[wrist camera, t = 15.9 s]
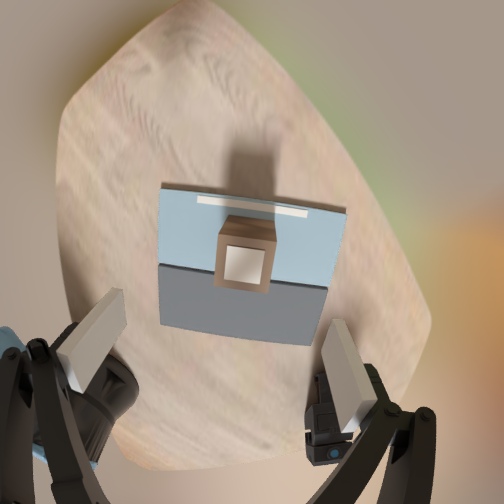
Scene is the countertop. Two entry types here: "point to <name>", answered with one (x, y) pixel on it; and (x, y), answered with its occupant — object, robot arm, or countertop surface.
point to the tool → (324, 428)
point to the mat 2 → (239, 307)
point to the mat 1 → (220, 206)
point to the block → (245, 254)
